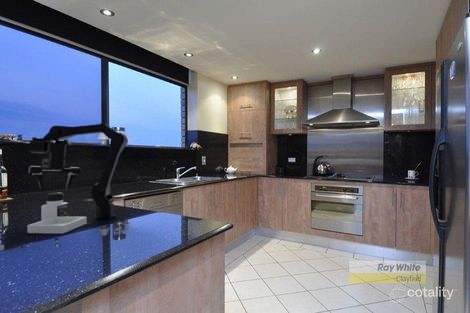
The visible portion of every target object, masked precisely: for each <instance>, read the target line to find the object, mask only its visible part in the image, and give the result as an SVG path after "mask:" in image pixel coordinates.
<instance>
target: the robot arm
mask: <svg viewBox="0 0 470 313" xmlns="http://www.w3.org/2000/svg"><path fill="white" fill-rule="evenodd" d="M48 131H49V132H47V133H46V134H45V135H44V136H43V138H42V137H37V136H36V137H35V136H32V139H31V140H30V141H29V144H28V146H27V147H28V151H29V152H30V153H32V154H35V153H36V154H49V157H48V158H43V159H42V166H40V165H30V166H29V167H28V174H32V176H34V177H35V178H36V180H37V181H38V185H39V188H40V190H41V191H43V188H44V185H43V182H44V181H43V180H44V178H43V173H68V174H67V182H66V185H65V188H66V189H65V190H69V188H70V185H71V184H72V182H73V181H74V179H75V178H76V177H78V176H79V175H82V171H83V170H82V168H81V167H78V166H77V167H75V166H70V167H69V168H66V167H65V161H66V152H67V151H66V149H67V146H72V143H71V142H70V141H69V140H68V139H71V138H74V137H76V136H84V135H93V134H103V135H105V137H107V138H108V139H109V140H110V142H109V153H108V156H107V159H106V162H105V164H104V168H103V170H102V173H101V176H100V179H99V180H98V181H99V182H96V183H94V184H93V185H92V189H91V191H90V196H91V199H92V200H93V201H94V203H95V205H96V207H95V217H94V220H110V219H111V218H115V217H116V215H117V214H115V211H114V210H115V203H114V201H115V197H114V196H113V195H112V194H111V181H112V178H113V175H114V172H115V170H116V166H117V164H118V161H119V157H120V156H121V154H122V153H123V150H124V149H125V147H126V145H127V144H128V141H129V139H128V137H127V136H126V135H125V133H124V134H123V133H121V132H118V131H116V130H115V129H113V127H110V126H109V124H107V123H103V122H101V123H97V124H95V123H94V124H87V125H78V126H77V125H76V126H68V125H67V126H66V125H52V126H51V127H50V128H49V130H48Z"/></svg>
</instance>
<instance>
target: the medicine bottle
mask: <svg viewBox="0 0 470 313" xmlns="http://www.w3.org/2000/svg"><path fill="white" fill-rule="evenodd" d="M40 208H41V209H40V210H41V213H40V214H41V216H40V217H41V221H43V220H46V219H49V218H52V217H69V202H64V193H62V192H49V193H48V194H46V203H45V204H43V205H41V207H40Z"/></svg>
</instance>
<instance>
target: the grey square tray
mask: <svg viewBox="0 0 470 313" xmlns="http://www.w3.org/2000/svg"><path fill="white" fill-rule="evenodd" d="M87 220H88V217H87V216H68V217H52V218H49V219H46V220H43V221H37V222H35V223H30V224H27V234H65V233H68V232H70V231H72V230H74V229H77V228H79V227H82V226H85V225H87V224H88V223H87Z"/></svg>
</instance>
